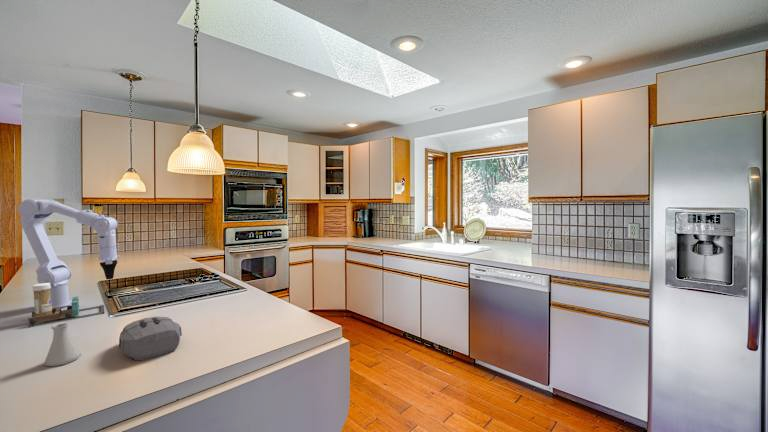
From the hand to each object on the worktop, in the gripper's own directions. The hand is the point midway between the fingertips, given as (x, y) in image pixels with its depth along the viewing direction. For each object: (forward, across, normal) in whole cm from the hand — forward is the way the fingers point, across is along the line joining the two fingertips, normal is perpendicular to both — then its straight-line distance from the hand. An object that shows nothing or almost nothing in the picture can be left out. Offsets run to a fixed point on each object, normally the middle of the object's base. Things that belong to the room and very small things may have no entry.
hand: (109, 278), depth 141 cm
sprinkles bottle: (+11, -8, +19) cm, 23 cm away
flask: (+11, -54, +12) cm, 56 cm away
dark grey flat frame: (+10, -8, +12) cm, 18 cm away
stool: (+10, -8, +16) cm, 21 cm away
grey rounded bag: (+11, -59, -7) cm, 61 cm away
